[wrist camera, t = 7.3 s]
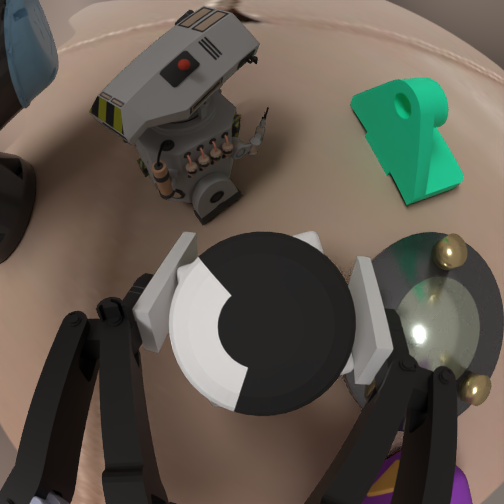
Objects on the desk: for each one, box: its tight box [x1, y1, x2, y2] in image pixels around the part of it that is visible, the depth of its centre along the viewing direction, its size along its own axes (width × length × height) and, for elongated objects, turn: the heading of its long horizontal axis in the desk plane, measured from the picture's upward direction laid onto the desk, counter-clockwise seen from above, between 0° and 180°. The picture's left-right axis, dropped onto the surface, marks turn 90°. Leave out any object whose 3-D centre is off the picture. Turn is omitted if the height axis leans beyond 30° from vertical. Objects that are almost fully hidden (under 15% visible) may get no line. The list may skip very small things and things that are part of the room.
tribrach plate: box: [343, 232, 504, 432], centre depth 20 cm, size 18×18×4 cm
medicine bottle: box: [169, 231, 356, 416], centre depth 14 cm, size 7×7×12 cm
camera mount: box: [350, 78, 463, 205], centre depth 21 cm, size 12×8×10 cm, turn 19°
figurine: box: [89, 6, 269, 225], centre depth 19 cm, size 9×12×15 cm
